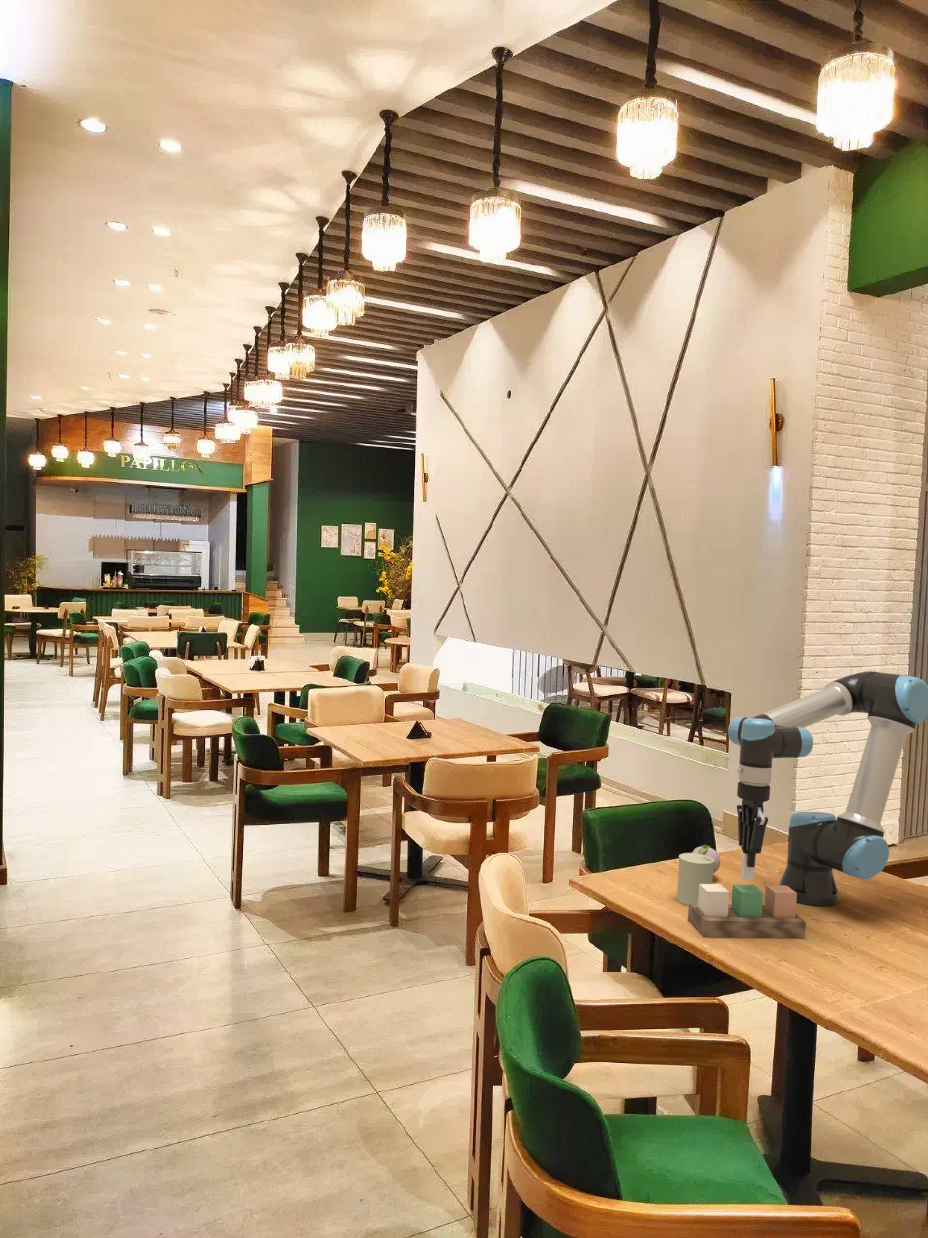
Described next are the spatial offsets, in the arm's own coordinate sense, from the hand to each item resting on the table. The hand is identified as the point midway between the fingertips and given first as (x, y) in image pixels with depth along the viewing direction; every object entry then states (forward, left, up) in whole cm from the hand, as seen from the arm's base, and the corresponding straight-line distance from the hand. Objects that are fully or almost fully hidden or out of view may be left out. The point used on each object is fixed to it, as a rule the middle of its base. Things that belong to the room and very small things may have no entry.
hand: (747, 878), depth 215 cm
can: (+6, -19, -13) cm, 24 cm away
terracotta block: (-9, 0, -9) cm, 13 cm away
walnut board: (0, 0, -12) cm, 12 cm away
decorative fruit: (-4, -38, -13) cm, 40 cm away
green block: (0, 0, -9) cm, 9 cm away
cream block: (+8, 0, -9) cm, 13 cm away
